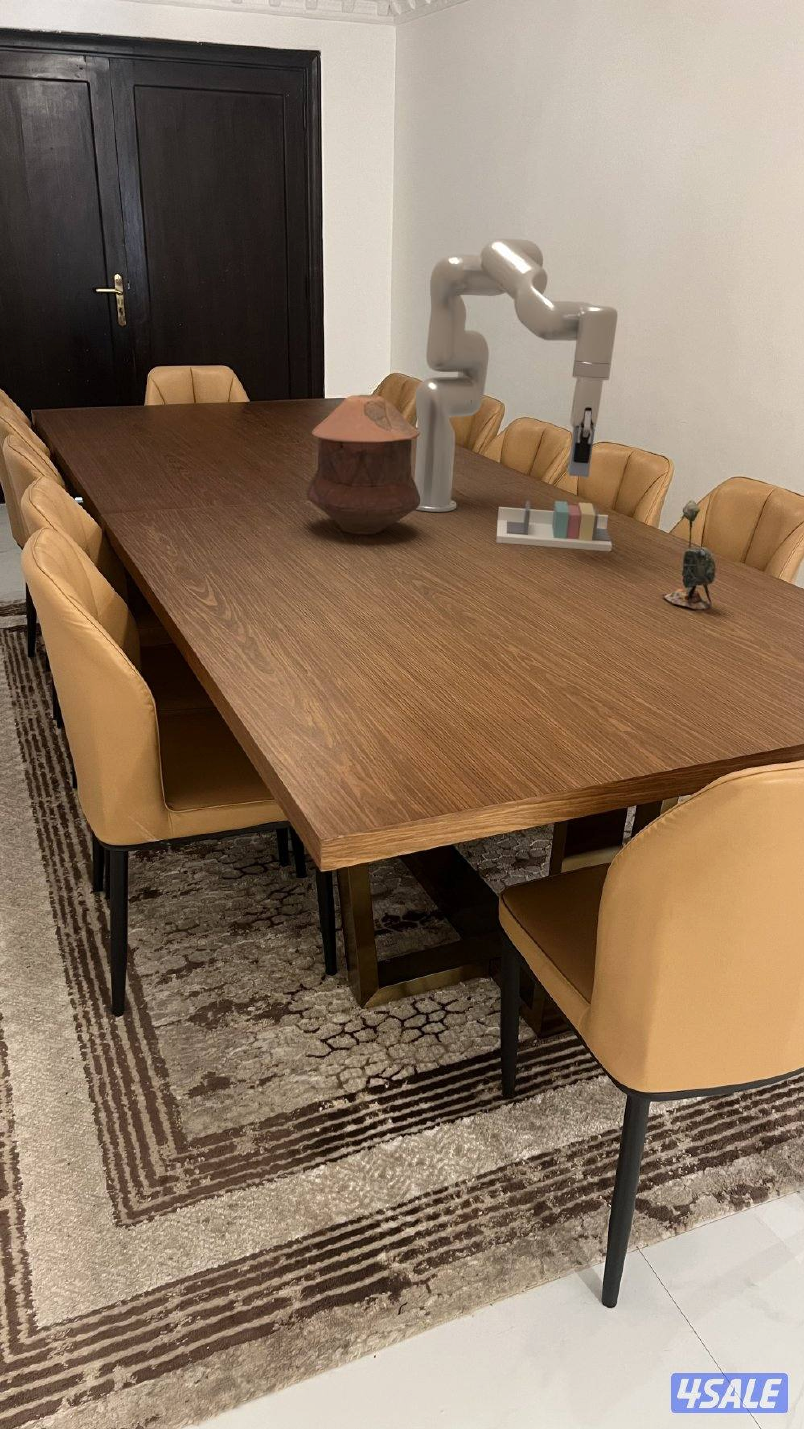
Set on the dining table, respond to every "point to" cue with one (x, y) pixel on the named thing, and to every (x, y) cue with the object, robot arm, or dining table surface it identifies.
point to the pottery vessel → (364, 465)
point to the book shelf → (543, 530)
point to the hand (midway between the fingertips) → (579, 458)
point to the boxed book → (573, 467)
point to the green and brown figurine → (694, 570)
